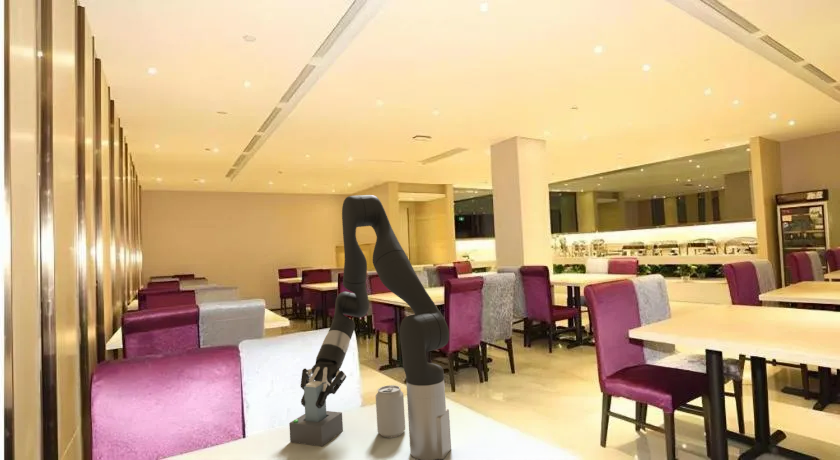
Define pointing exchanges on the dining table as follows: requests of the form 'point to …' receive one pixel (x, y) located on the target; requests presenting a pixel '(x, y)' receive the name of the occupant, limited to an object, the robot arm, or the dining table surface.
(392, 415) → the can
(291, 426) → the port block
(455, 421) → the dining table surface
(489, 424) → the dining table surface
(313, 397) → the plug
